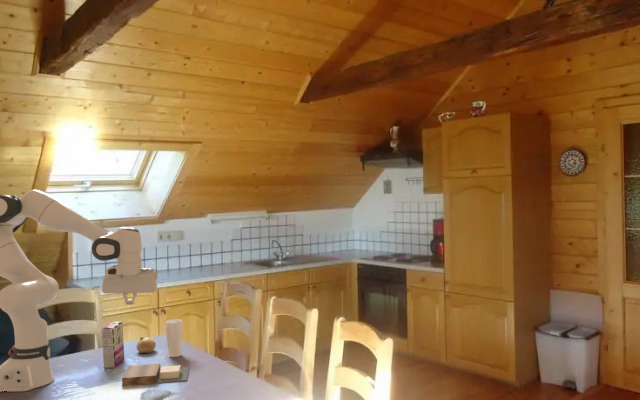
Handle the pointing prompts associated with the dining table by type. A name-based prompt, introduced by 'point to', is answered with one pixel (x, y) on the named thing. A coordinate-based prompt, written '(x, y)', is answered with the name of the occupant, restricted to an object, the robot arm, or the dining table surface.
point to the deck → (141, 374)
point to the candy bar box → (113, 344)
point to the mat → (182, 377)
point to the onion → (146, 345)
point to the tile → (170, 372)
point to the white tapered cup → (174, 337)
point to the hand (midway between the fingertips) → (130, 304)
